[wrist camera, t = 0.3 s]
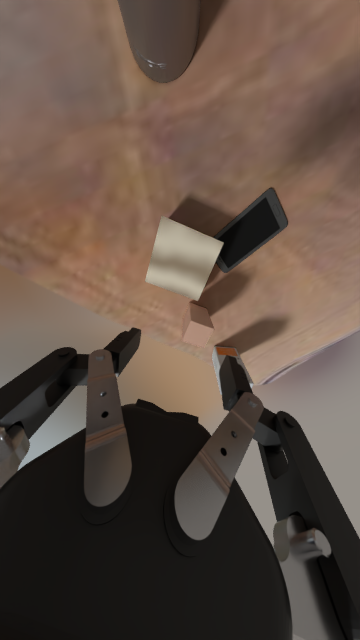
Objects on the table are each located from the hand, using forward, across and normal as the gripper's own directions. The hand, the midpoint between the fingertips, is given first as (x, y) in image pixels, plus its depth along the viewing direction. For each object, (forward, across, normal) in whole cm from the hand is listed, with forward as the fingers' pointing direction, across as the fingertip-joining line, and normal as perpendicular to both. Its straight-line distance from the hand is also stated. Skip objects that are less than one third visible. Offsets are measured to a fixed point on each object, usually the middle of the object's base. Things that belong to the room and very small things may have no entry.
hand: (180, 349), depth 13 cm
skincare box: (+23, -12, +14) cm, 30 cm away
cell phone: (+23, -6, -13) cm, 27 cm away
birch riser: (+22, +4, -6) cm, 23 cm away
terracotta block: (+22, -2, +5) cm, 22 cm away
